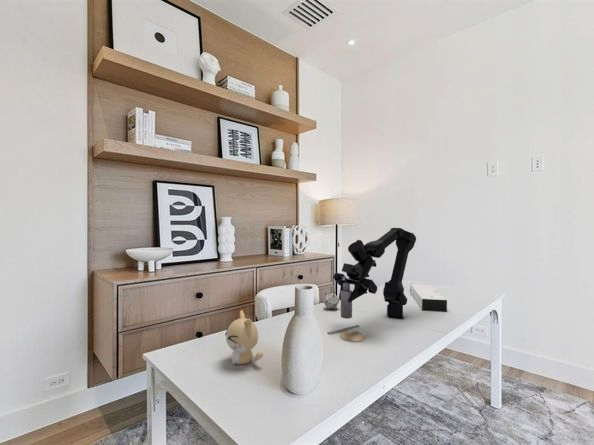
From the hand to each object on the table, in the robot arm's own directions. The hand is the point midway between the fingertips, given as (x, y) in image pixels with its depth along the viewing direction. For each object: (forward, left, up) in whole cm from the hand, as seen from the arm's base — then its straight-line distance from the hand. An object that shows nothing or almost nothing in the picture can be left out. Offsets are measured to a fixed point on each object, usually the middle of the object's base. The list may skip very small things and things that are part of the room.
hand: (344, 300), depth 122 cm
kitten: (+28, +31, -14) cm, 44 cm away
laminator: (-34, -59, -14) cm, 70 cm away
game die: (+11, -31, -14) cm, 36 cm away
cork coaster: (-3, +1, -13) cm, 14 cm away
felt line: (+1, -5, -13) cm, 15 cm away
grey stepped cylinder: (-1, -1, -7) cm, 7 cm away
